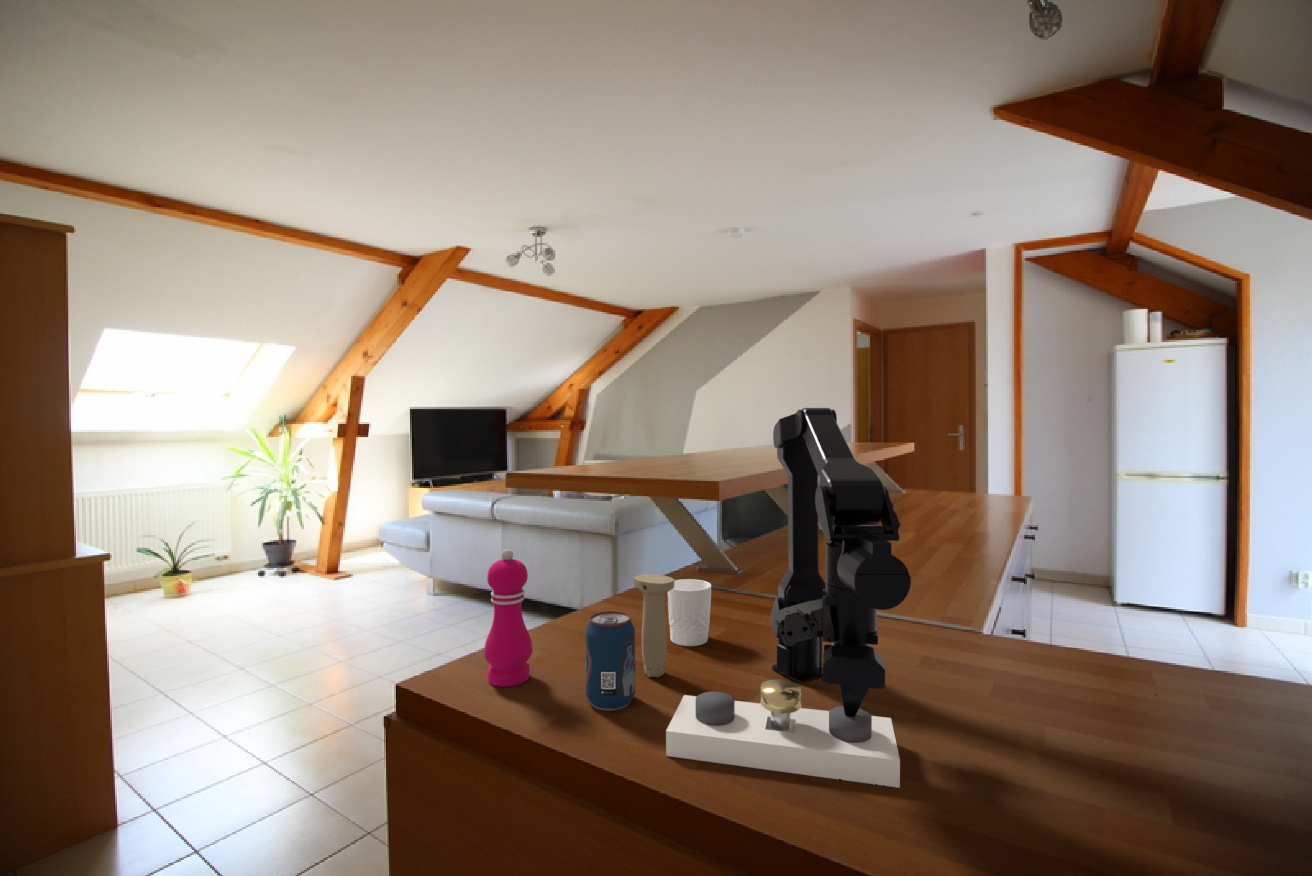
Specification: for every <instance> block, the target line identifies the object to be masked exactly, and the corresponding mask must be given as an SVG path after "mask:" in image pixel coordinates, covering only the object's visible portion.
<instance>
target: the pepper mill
mask: <svg viewBox="0 0 1312 876" xmlns="http://www.w3.org/2000/svg"><path fill="white" fill-rule="evenodd" d="M486 578H487V583H488V586H489V587H490V588H491V589H492V591H491V592H490V595H491V599H490V602H491V603H492V604H493V620H492V622H491V623H492V624H491V627H490V630H489V632H488V635H487V636H486V640H485V643H484V647H483V648H484V650H483V656H484V660H486V662H487V663H488V664H489V665H490V666H488V668H487V682H488V683H489V684H490V685H493V686H494V687H501V688H504V687H505V688H507V687H514V686H519V685H521V684H523V683H525V682H527V681H528V680H529V679H530V677H531V676H530V674H531V673H530V671H531V670H530V664H529V663H528V661H529V659H530V658H531V657H532V655H533V642H532V638H531V635H530V633H529V631H528V629H527V627H526V624H525V621H524V618H523V610H522V606H523V605H522V604H523V601H524V600H525V590H524V589H523V587H524V586H525V585H526V584H527V581H528V579H529V578H528V570H527V566H526V565H525V564H524V563H523V562H522V561H521V560H518V559H516V558H515V559H514V552H513V551H512V550H511V549H509V548H505V549H504V550H502V552H501V559H499V560H496V561H495V562H494V563H492V564H491V565H490V567H489V569H488V571H487V577H486ZM518 684H519V685H518Z"/></svg>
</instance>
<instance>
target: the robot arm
mask: <svg viewBox="0 0 1312 876" xmlns="http://www.w3.org/2000/svg"><path fill="white" fill-rule="evenodd" d="M837 419H838V418H837V413H836V410H835V409H831V408H830V407H803V408H801V409H798V410H797V411H796V412H795V413H793V414H790V415H787V416H784V417H782V418H779V419H778V421H777V422H776V423H775V424H774V427H773V434H772V439H773V441H772V442H773V446H774V449H776V455H777V460H778V462H779V463H780V465H781V466H782V467H783V470H784V471H785V473H786V474H787V530H788V531H787V533H788V536H787V537H788V539H787V541H788V542H787V546H788V551H787V552H788V554H787V555H788V568H787V570H786V572H785V574H784V575H783V577H782V578H781V580H780V581H779V583H778V585H777V586H778V587H777V597H775V599H774V602H773V605H772V608H771V613H770V625H771V626H770V627H771V630H772V632H773V634H774V635H775V637H776V639H778V643H777V644H776V664H772V665H771V670H772V671H775V672H778V673H779V674H781V675H783V676H785V677H786V678H788V679H791V680H793V681H795V683H796V682H797V683H804V682H808V681H811V680H813V679H814V680H815V679H818V678H822V682H824V683H825V684H827V685H835V686H836V685H837V686H839V691H840V696H841V702H842V706H843V707H844V712H845V716H848V717H855V716H856V714H857V712H858V710H859V709H861V706H862V703H863V701H864V700H865V698H866V695H867V694H868V692H869V690H870V689H874V690H875V689H876V690H882V689H884V688H886V667H885V663H884V659H883V657H882V656H881V655H880V654H879V653H878V652H877V651H876V649H875V648H874V647H872V646H871V645H876V646H878V645H879V634H878V630H877V612H878V611H877V610H879V611H886V610H891V609H894V608H895V607H898V606H899V605H901V603H903V602H904V600H905V599H906V598H907V596H909V595H908V594H909V592H910V589H911V585H912V578H911V575H910V573H909V570H908V567H906V564H905V563H904V562H903V561H902V560H901V559H900V558H898V557H897V556H896V555H893V554H892V543H891V542H898V541H900V534H899V529H900V527H901V523H900V521H899V518H898V515H897V512H896V509H895V507H894V504H893V501H892V498H891V496H890V494H889V490H888V488H887V487H886V486H884V483H883V482H882V479H880V477H879V476H878V475H877V473H876V472H875V470H873V469H872V467H869V466H866V465H864V464H862V463H860V462H858V461H857V460H856V458H855V456H854V454H853V453H852V450H851V449H850V446H849V445H848V442H847V441H846V439H845V436H844V435H843V433H842V430H841V429H840V426H839V425H838V421H837ZM879 523H880V524H881V525H879ZM819 524H820V527H821V530H822V534H823V536H824V539H825V540H826V541H825V542H826V543H825V580H824V579H823V577H822V575H821V573H820V572H819V571H820V569H819V565H820V564H819V562H820V561H819V556H820V555H819ZM823 642H824V643H831V644H825V645H824V646H823Z"/></svg>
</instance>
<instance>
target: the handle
mask: <svg viewBox="0 0 1312 876" xmlns="http://www.w3.org/2000/svg"><path fill="white" fill-rule="evenodd" d="M674 581H675V579H674V577H673V578H672V577H671V576H667V575H662V574H654V573H653V574H652V573H643V574H639V575H636V576H634V577H633V586H634V588H636V589H638V590H639V591H641V592H642V599H643V602H642V603H643V604H642V619H641V620H642V624H641V655H642V657H641V658H642V662H643V673H644V674H645V675H646V676H647V677H648V678H660V677H661V676H664V675H665V673H666V665H665V664H666V660H667V651H668V650H667V649H668V633H667V632H668V631H667V618H666V599H665V598H666V594H668V591H670V590H672V589H673V588H674Z"/></svg>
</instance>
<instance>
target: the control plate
mask: <svg viewBox="0 0 1312 876" xmlns="http://www.w3.org/2000/svg"><path fill="white" fill-rule="evenodd" d="M697 696H698V695H697ZM697 696H695V695H687V694H683V696H682V699H681V701H680V703H679V704H678V706H677V708H676V711H675V712H674V715H672V719H671V720H670V722H669V724H668V726H667V728H666V730H665V756H666V757H673V758H680V759H686V760H687V759H688V760H693V761H701V762H708V763H716V764H724V765H731V766H736V767H737V766H739V767H745V768H752V769H760V770H766V771H767V770H768V771H774V772H781V773H782V772H783V773H787V774H788V773H789V774H796V775H804V776H805V775H806V776H811V777H816V778H817V777H819V778H825V779H833V780H839V779H841V780H842V781H847V782H855V783H862V784H870V785H876V784H877V786H883V785H884V787H892V788H898V789H900V787H901V779H900V778H901V759H900V758H901V757H900V754H899V749H898V745H897V741H896V740H897V739H896V736H895V732H894V730H895V729H894V725H893V721H892V718H891V717H885V716H875V715H871V717H872V736H871V738H870V739H869V740H867V741H865V742H858V743H854V742H846V741H843V740H840V739H837V738H835V737H834V736H833V735H831V734H830V732H829V711H830V710H821V709H814V708H813V709H812V708H803V707H801V708H800V709H799V710H798V711H796V712H792V713H791V728H790V729H789V730H787V731H778V730H775V729H773V728H772V727H771V711H769V710H767V709H765V708H764V707H762V705H761V702H759V703H758V702H750V701H740V700H734V701H735V717H734V720H733V721H732V722H730V723H728V724H725V725H708V724H705V723H702V722H700V721H699V720H697V718H696V697H697ZM841 780H840V781H841Z"/></svg>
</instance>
